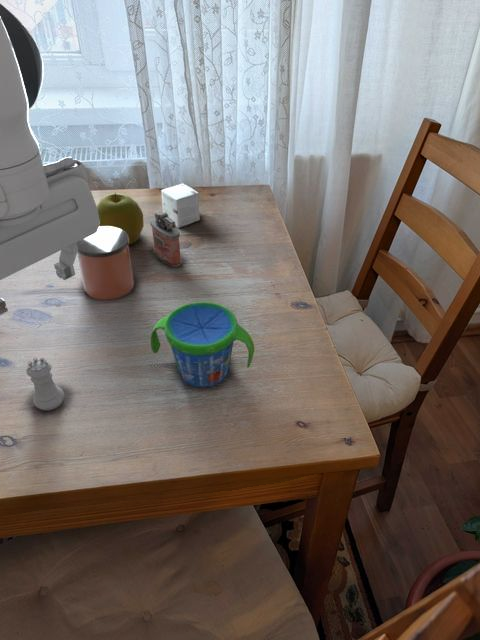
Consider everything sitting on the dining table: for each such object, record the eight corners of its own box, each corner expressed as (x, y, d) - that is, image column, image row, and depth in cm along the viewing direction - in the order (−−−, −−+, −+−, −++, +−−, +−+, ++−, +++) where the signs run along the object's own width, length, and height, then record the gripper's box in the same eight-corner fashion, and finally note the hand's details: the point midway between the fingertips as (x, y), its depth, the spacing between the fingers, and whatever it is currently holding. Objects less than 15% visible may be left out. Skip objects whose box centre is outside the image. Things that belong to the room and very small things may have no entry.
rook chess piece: (73, 399, 77) (61, 359, 71) (52, 419, 74) (38, 379, 68) (49, 388, 78) (36, 349, 73) (27, 408, 75) (12, 368, 70)
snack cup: (142, 384, 80) (134, 333, 73) (171, 341, 87) (166, 291, 80) (239, 409, 77) (240, 358, 70) (260, 362, 84) (263, 313, 78)
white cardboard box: (163, 220, 118) (160, 189, 113) (184, 212, 121) (183, 182, 116) (178, 231, 115) (176, 199, 110) (200, 223, 118) (199, 192, 113)
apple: (89, 239, 111) (80, 190, 103) (130, 225, 116) (123, 178, 108) (113, 259, 105) (105, 209, 98) (155, 244, 110) (149, 195, 103)
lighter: (150, 253, 107) (145, 208, 101) (164, 248, 109) (160, 204, 102) (171, 271, 103) (167, 225, 96) (185, 266, 105) (183, 220, 98)
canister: (79, 303, 94) (67, 253, 87) (88, 274, 101) (78, 225, 94) (132, 303, 95) (124, 253, 88) (138, 274, 102) (131, 226, 95)
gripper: (63, 145, 60) (85, 249, 70) (-120, 207, 48) (-64, 325, 57) (101, 159, 58) (118, 265, 67) (-82, 229, 45) (-29, 349, 54)
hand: (34, 293), depth 62 cm, fingers open, 8 cm apart
